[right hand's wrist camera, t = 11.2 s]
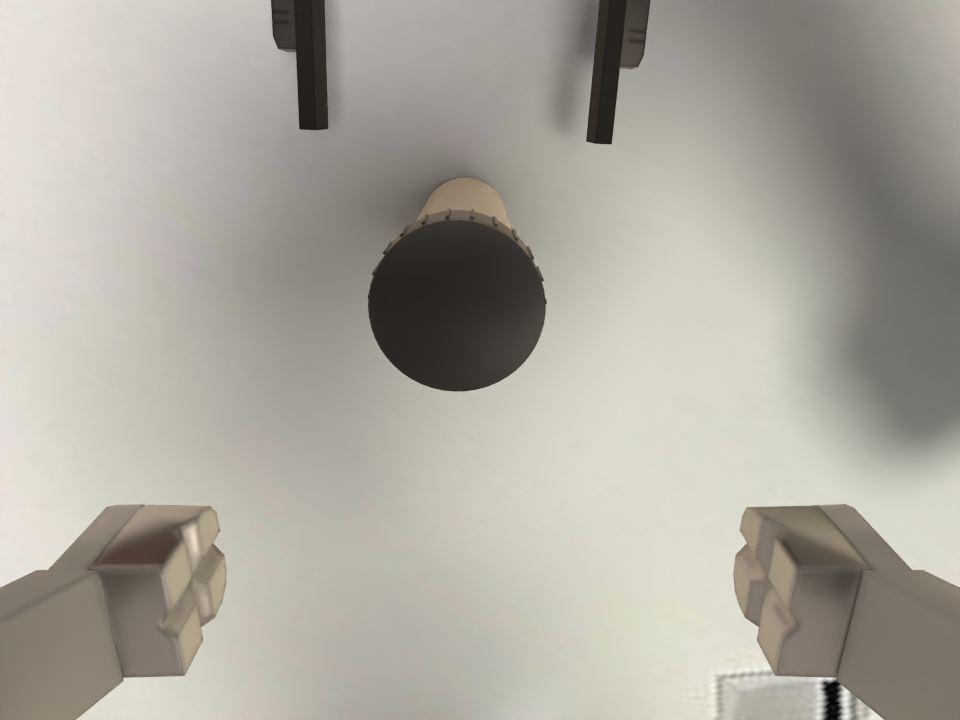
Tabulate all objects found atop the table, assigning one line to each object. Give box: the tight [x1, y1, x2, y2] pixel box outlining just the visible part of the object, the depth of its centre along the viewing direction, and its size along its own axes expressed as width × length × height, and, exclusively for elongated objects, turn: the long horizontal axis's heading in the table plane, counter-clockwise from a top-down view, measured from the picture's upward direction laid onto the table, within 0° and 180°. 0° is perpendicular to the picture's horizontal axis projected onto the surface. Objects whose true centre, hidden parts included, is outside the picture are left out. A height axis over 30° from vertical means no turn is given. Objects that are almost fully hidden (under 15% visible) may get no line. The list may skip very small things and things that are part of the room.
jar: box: [416, 177, 512, 230], centre depth 31 cm, size 5×5×19 cm
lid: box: [368, 208, 547, 391], centre depth 23 cm, size 6×6×2 cm
